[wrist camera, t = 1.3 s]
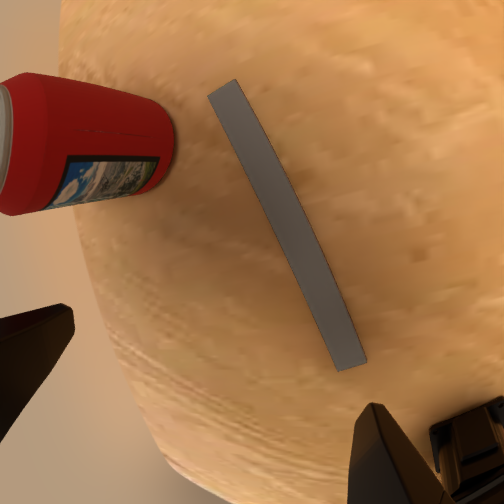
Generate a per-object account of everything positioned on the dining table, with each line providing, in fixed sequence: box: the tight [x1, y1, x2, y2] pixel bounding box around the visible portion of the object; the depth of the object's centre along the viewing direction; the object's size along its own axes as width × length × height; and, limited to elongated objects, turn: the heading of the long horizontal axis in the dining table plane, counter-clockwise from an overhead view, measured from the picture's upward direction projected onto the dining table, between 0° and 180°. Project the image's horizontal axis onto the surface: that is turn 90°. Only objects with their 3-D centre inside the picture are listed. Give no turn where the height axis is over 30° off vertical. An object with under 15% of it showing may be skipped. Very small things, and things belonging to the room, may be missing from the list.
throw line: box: [207, 79, 367, 372], centre depth 18 cm, size 19×2×1 cm, turn 27°
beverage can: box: [0, 72, 174, 216], centre depth 14 cm, size 7×7×12 cm
